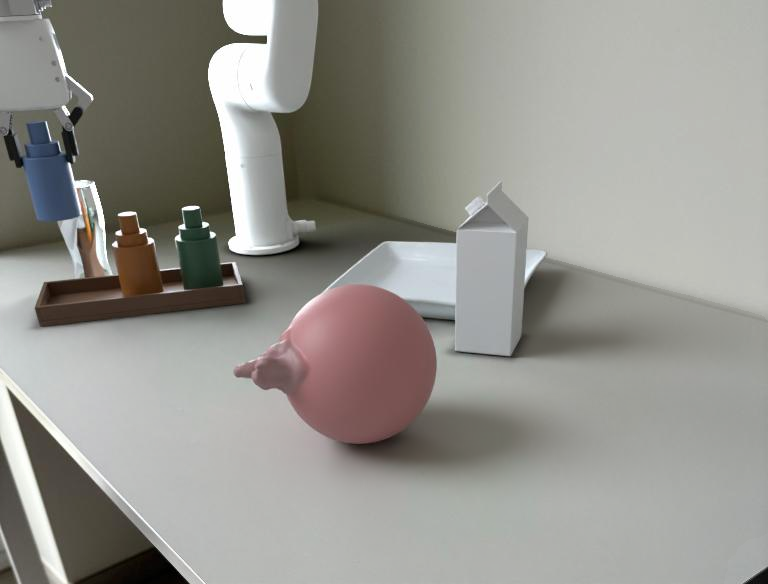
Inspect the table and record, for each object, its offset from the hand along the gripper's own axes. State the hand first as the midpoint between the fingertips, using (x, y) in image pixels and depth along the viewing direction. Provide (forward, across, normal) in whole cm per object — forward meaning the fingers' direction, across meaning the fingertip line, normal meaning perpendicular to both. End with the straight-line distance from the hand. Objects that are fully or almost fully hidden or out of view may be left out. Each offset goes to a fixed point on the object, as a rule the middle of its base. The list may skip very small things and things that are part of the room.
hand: (46, 162), depth 108 cm
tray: (+20, -9, 0) cm, 22 cm away
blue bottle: (+7, 0, 0) cm, 7 cm away
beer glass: (+20, -1, -13) cm, 24 cm away
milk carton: (+20, -52, +33) cm, 65 cm away
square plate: (+20, -52, +12) cm, 57 cm away
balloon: (+21, -29, +52) cm, 63 cm away
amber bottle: (+19, -9, 0) cm, 21 cm away
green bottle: (+19, -18, 0) cm, 27 cm away
